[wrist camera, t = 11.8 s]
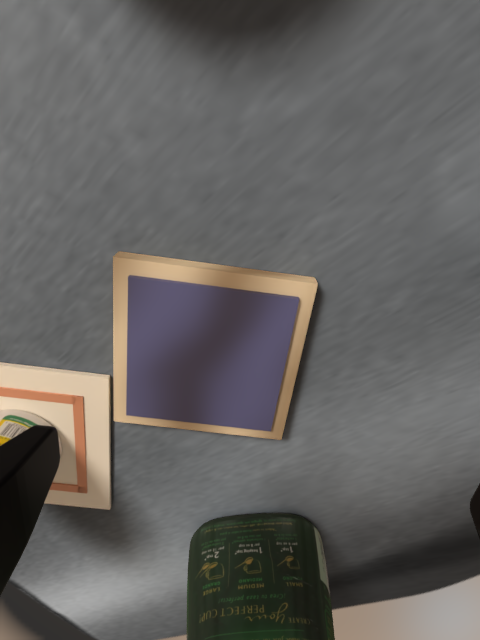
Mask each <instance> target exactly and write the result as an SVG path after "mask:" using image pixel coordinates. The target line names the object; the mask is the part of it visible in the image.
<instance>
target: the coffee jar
mask: <svg viewBox="0 0 480 640" xmlns="http://www.w3.org/2000/svg"><path fill="white" fill-rule="evenodd" d="M187 640H335V638H334V628H333V618H332V609H331V600H330V591H329V582H328V574H327V567H326V560H325V555H324V550H323V545H322V541H321V537H320V534H319V532H318V530H317V528H316V527H315V526H314V525H313V524H312V523H311V522H309V521H308V520H306V519H305V518H303V517H301V516H298V515H294V514H284V513H262V514H247V515H236V516H229V517H222V518H217V519H213V520H210V521H208V522H206V523H204V524H203V525H202V526H201V527H200V528H199V529H198V530H197V531H196V532H195V533H194V535H193V537H192V539H191V542H190V550H189V562H188V583H187Z"/></svg>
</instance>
